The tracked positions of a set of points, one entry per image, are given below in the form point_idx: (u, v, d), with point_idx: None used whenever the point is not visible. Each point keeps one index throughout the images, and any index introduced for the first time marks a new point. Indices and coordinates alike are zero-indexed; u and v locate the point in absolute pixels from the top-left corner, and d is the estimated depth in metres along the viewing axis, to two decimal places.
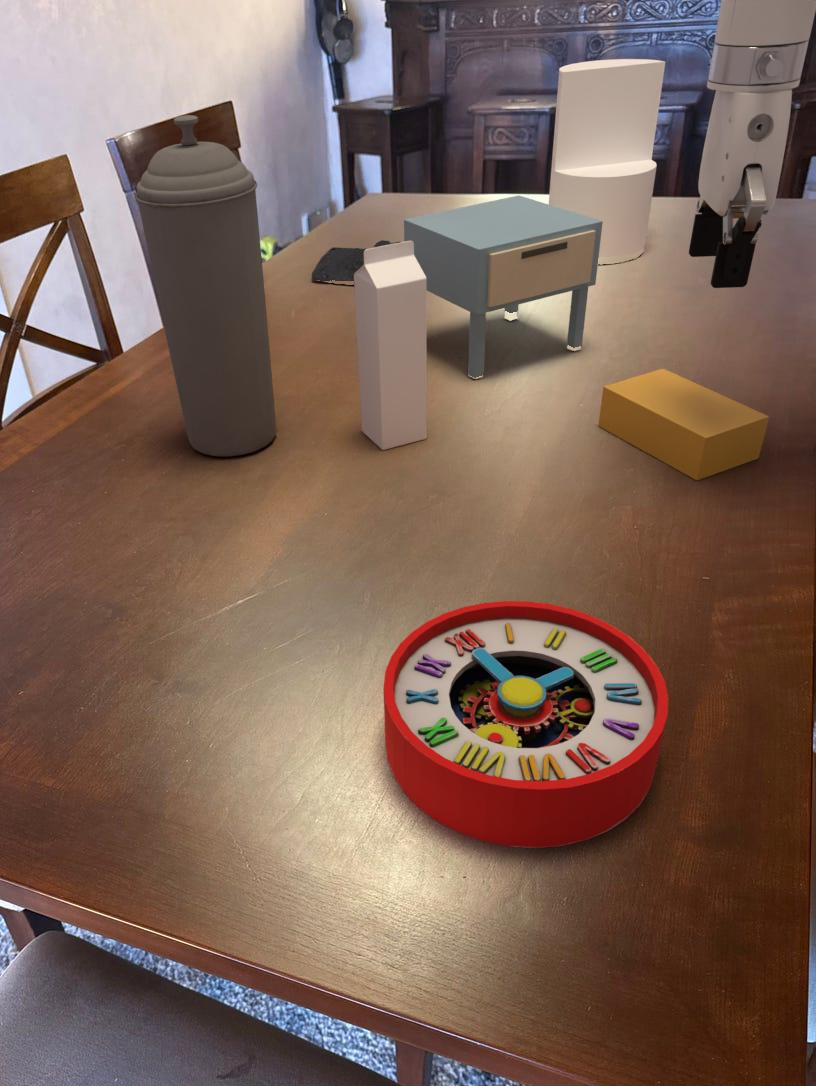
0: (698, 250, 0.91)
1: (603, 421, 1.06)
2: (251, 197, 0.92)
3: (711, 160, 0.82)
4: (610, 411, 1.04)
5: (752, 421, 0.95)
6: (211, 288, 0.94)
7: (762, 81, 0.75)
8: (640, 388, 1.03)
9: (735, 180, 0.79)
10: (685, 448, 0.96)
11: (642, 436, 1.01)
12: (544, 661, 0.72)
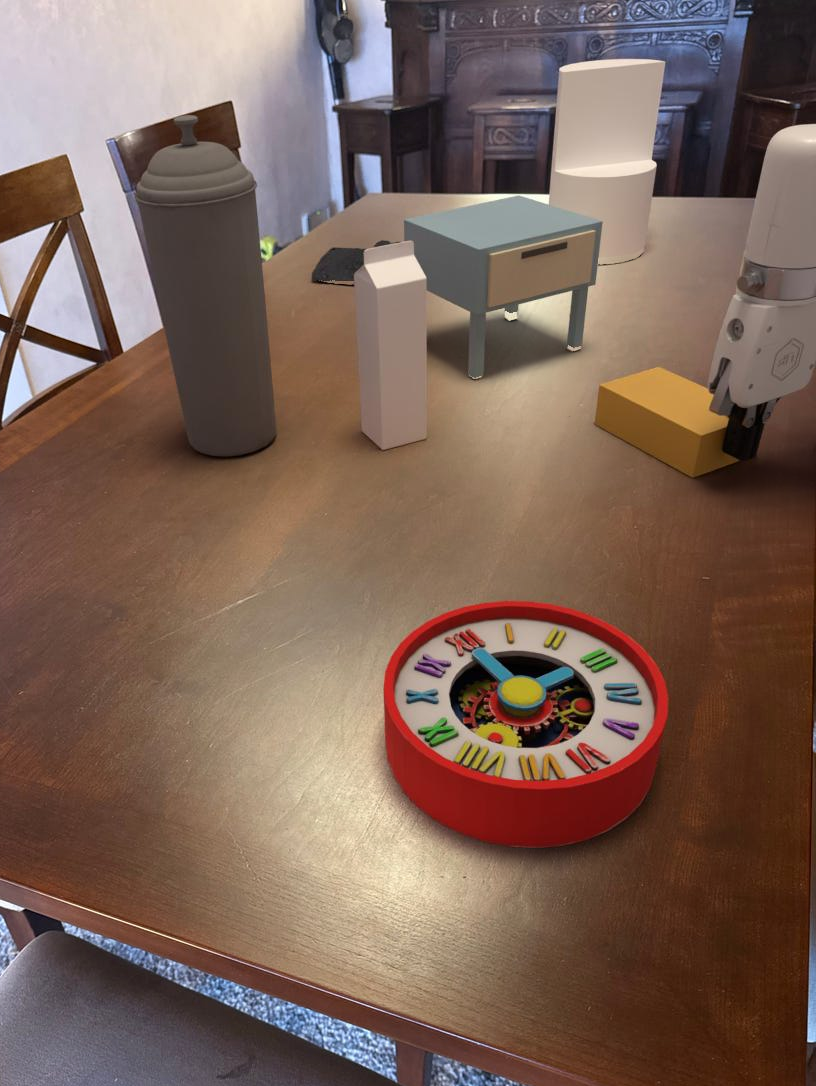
0: None
1: (599, 419, 1.07)
2: (251, 197, 0.92)
3: None
4: (606, 409, 1.05)
5: None
6: (211, 288, 0.94)
7: (748, 291, 0.83)
8: (635, 386, 1.03)
9: (714, 367, 0.88)
10: (681, 445, 0.96)
11: (638, 434, 1.01)
12: (544, 661, 0.72)
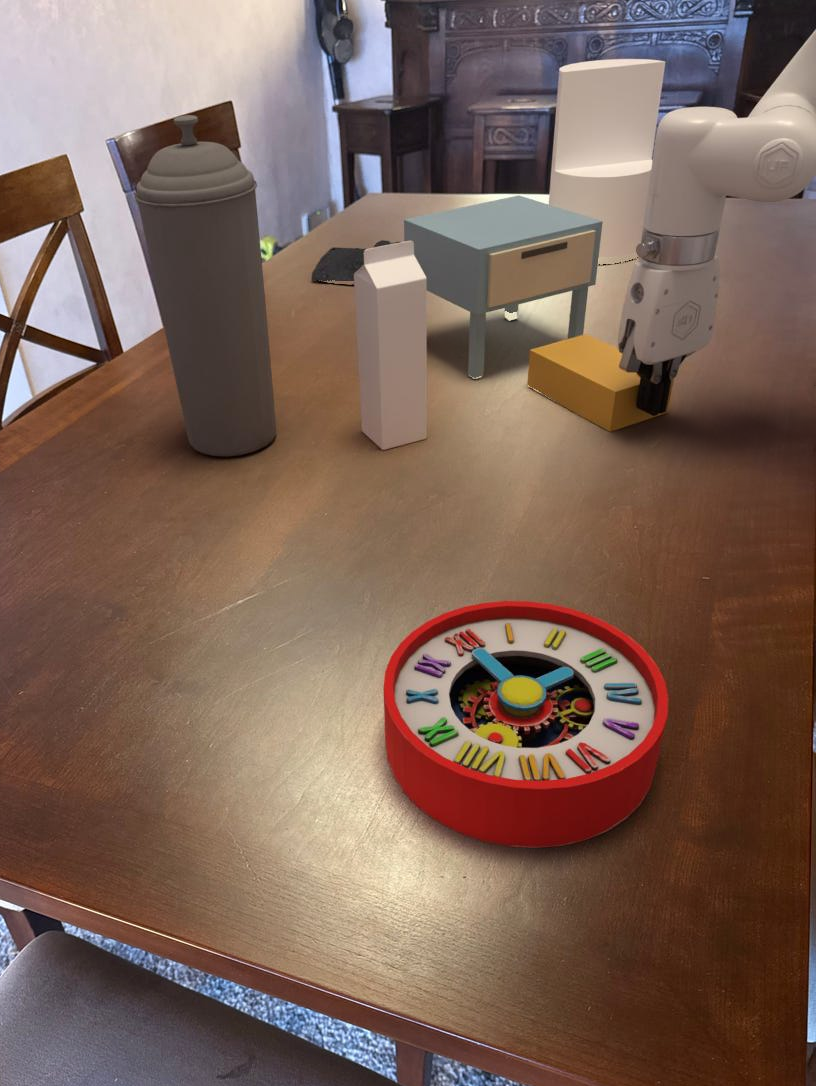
0: None
1: (530, 382, 1.16)
2: (251, 197, 0.92)
3: None
4: (536, 372, 1.14)
5: None
6: (211, 288, 0.94)
7: (647, 258, 0.93)
8: (562, 350, 1.13)
9: (622, 328, 0.97)
10: (599, 402, 1.06)
11: (564, 394, 1.11)
12: (544, 661, 0.72)
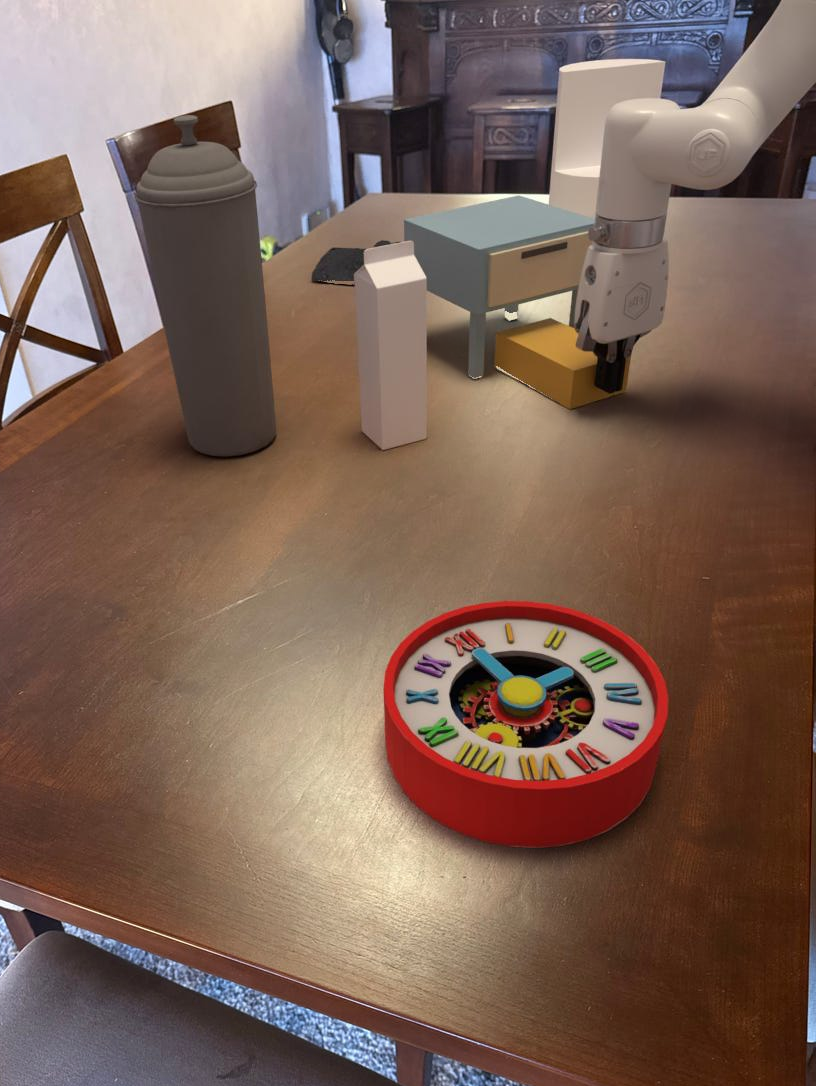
0: None
1: (497, 364, 1.21)
2: (251, 197, 0.92)
3: None
4: (502, 353, 1.20)
5: None
6: (211, 288, 0.94)
7: (599, 242, 0.98)
8: (527, 333, 1.18)
9: (577, 308, 1.03)
10: (559, 381, 1.11)
11: (527, 374, 1.16)
12: (544, 661, 0.72)
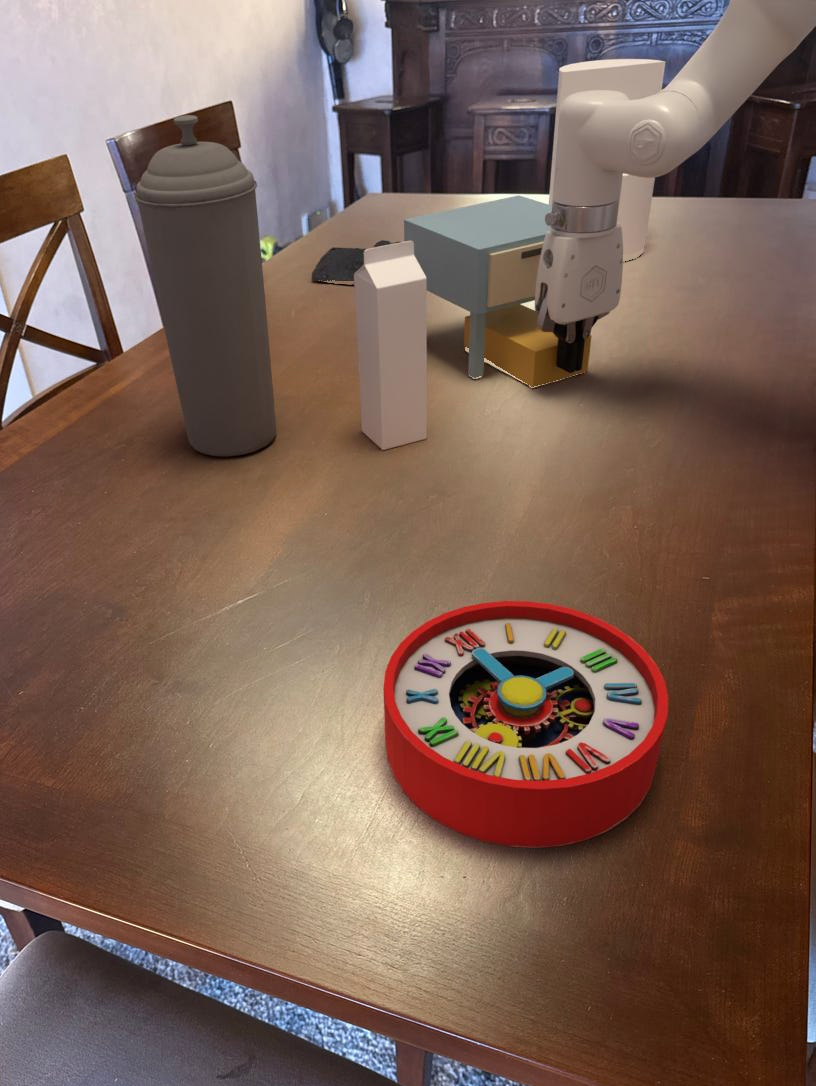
0: None
1: (467, 347, 1.27)
2: (251, 197, 0.92)
3: None
4: None
5: None
6: (211, 288, 0.94)
7: (556, 226, 1.03)
8: (494, 317, 1.24)
9: (537, 291, 1.08)
10: (523, 362, 1.16)
11: (494, 356, 1.22)
12: (544, 661, 0.72)
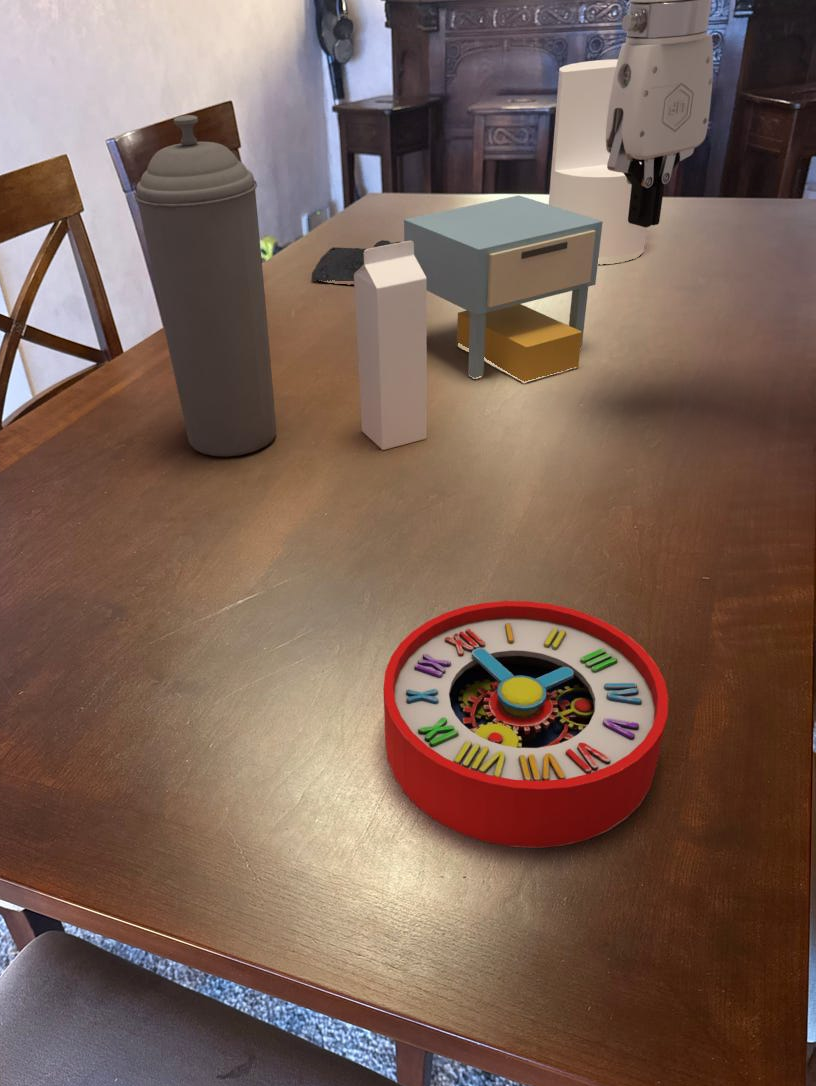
0: None
1: None
2: (251, 197, 0.92)
3: None
4: (463, 333, 1.26)
5: (567, 335, 1.17)
6: (211, 288, 0.94)
7: (634, 34, 0.86)
8: (486, 313, 1.25)
9: (609, 121, 0.91)
10: (514, 357, 1.18)
11: (486, 352, 1.23)
12: (544, 661, 0.72)
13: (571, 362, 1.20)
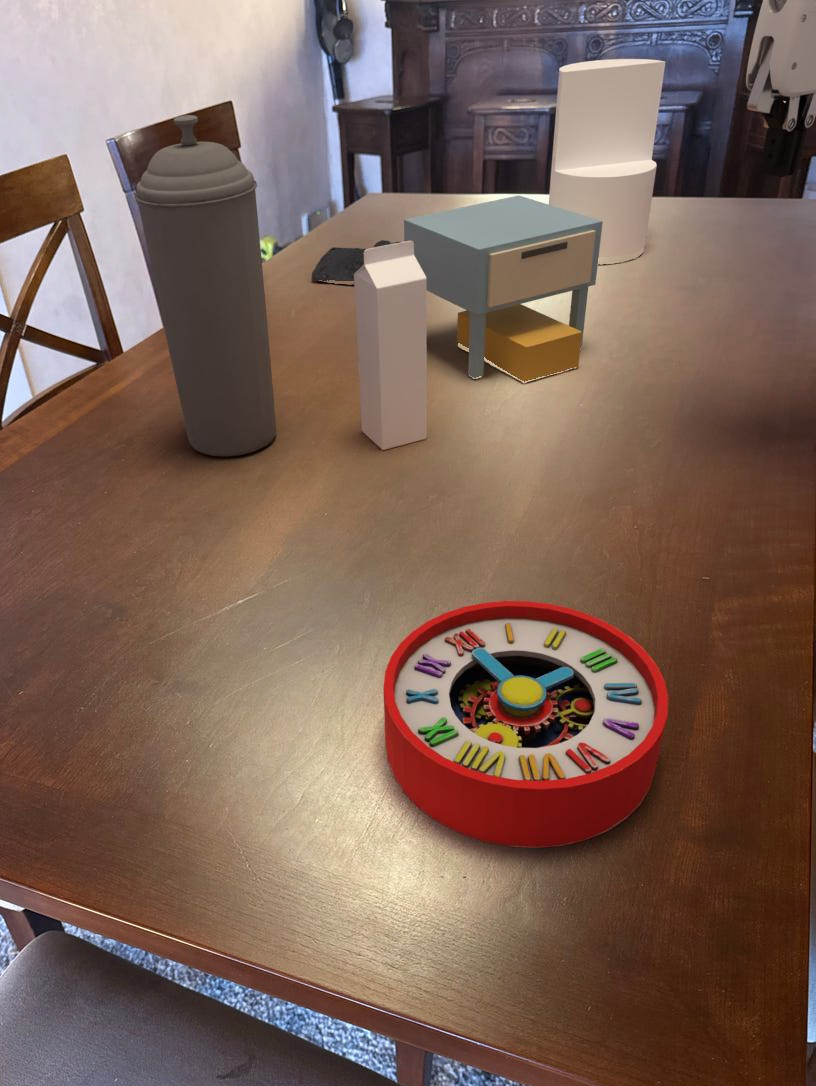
0: None
1: None
2: (251, 197, 0.92)
3: None
4: (463, 333, 1.26)
5: (567, 335, 1.17)
6: (211, 288, 0.94)
7: None
8: (486, 313, 1.25)
9: (753, 52, 0.81)
10: (514, 357, 1.18)
11: (486, 352, 1.23)
12: (544, 661, 0.72)
13: (571, 362, 1.20)
